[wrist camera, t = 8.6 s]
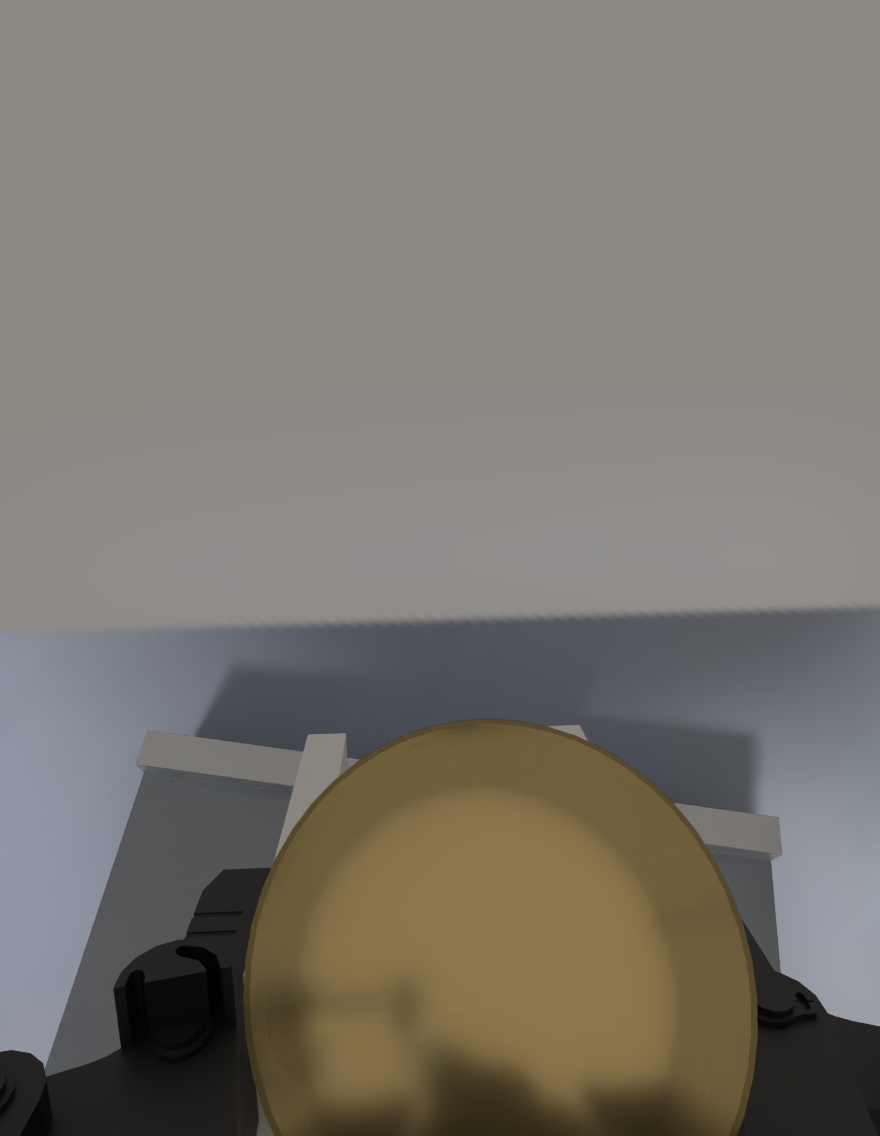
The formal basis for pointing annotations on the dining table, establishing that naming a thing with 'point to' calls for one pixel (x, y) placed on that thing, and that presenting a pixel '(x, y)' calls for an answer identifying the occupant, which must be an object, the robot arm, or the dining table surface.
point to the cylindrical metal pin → (498, 951)
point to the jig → (250, 840)
